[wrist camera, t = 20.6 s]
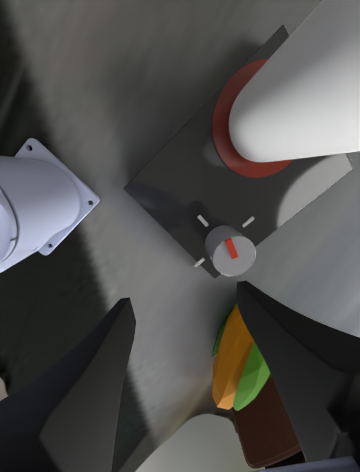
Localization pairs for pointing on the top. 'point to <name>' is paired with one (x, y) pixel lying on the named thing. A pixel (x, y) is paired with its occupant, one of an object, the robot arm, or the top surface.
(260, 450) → the letter holder
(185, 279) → the top surface
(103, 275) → the top surface
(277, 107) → the can
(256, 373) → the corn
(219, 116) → the burner ring
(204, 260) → the hob
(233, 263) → the knob
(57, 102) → the top surface
